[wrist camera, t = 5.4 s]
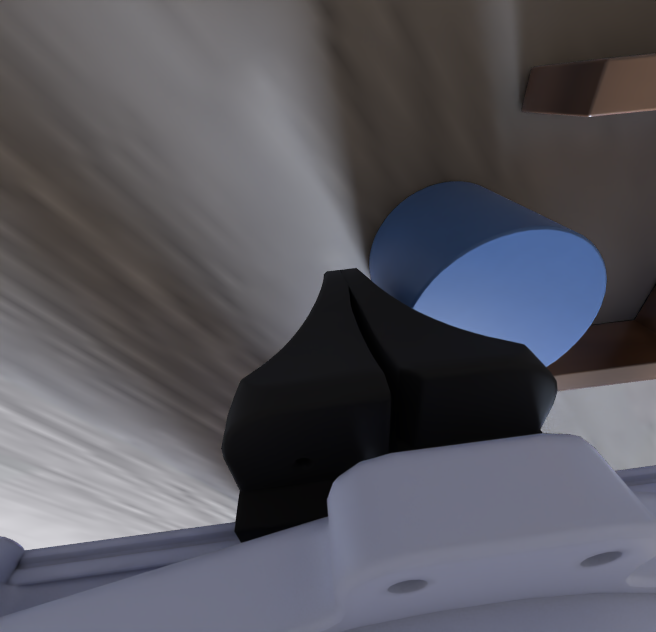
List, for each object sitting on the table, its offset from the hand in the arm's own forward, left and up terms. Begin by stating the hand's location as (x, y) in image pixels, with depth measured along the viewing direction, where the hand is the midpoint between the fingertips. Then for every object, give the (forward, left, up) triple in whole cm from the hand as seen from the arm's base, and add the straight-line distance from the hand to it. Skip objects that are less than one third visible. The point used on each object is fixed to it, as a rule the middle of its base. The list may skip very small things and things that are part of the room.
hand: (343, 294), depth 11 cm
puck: (+4, 0, -2) cm, 5 cm away
